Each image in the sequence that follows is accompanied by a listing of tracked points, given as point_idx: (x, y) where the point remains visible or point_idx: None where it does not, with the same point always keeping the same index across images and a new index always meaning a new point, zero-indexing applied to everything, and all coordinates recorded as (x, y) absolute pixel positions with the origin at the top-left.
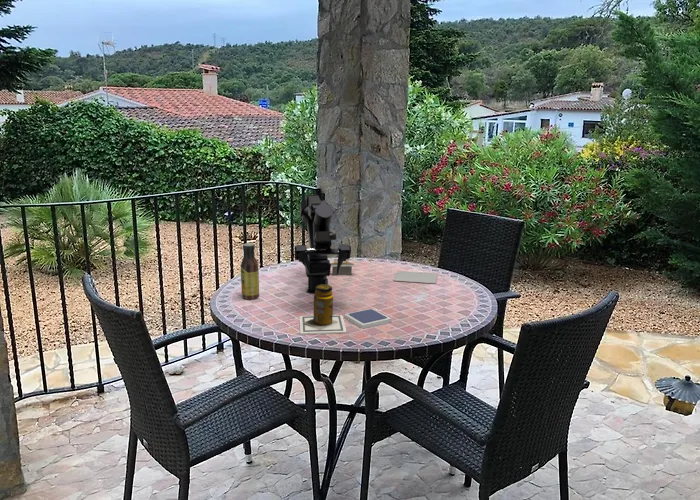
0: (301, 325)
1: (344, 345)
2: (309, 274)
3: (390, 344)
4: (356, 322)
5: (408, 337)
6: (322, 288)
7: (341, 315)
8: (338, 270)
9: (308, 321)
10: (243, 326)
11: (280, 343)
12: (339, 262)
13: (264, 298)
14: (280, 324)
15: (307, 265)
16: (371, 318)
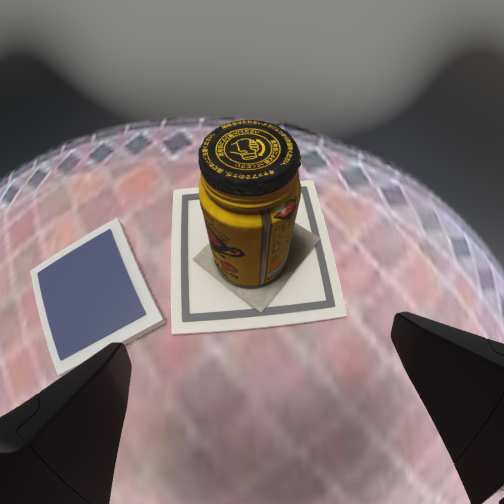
0: (322, 231)
1: (191, 135)
2: (398, 318)
3: (91, 150)
4: (130, 247)
5: (44, 185)
6: (255, 130)
7: (175, 329)
8: (99, 355)
9: (303, 250)
10: (463, 240)
11: (345, 146)
12: (41, 402)
13: None
14: (389, 254)
15: (467, 338)
16: (78, 262)
